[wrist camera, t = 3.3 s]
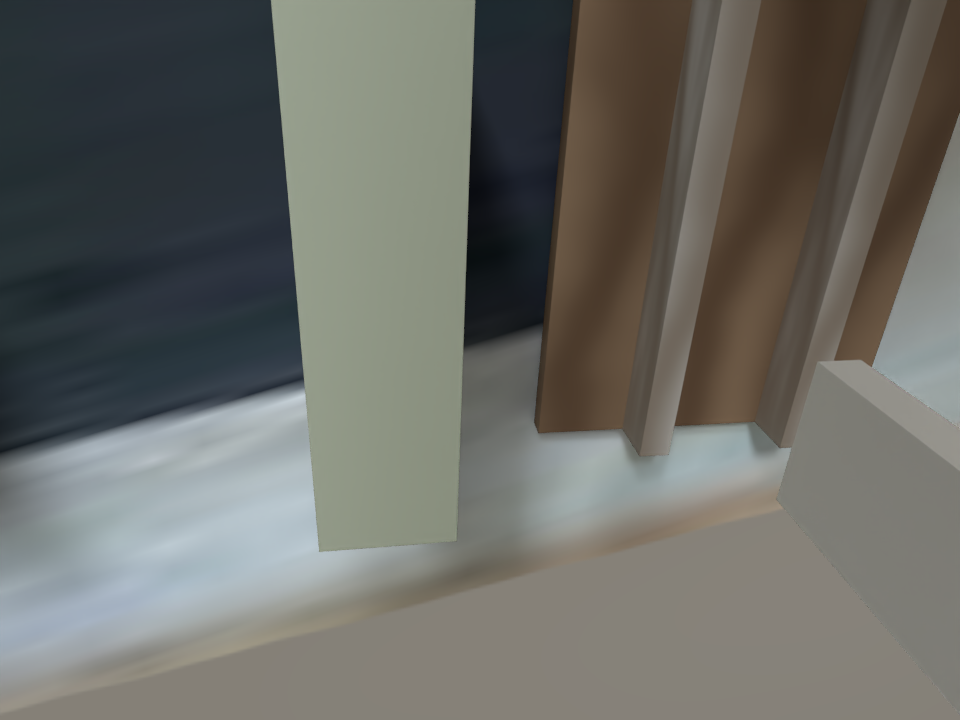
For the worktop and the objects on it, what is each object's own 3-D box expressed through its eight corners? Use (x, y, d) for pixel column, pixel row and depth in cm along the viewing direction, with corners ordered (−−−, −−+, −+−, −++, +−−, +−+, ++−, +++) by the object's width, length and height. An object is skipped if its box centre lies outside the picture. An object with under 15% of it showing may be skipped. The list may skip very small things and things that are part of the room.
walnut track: (534, 422, 36) (550, 461, 33) (592, -206, 24) (627, -238, 21) (843, 407, 38) (885, 441, 35) (1032, -161, 27) (1120, -183, 24)
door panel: (334, 341, 32) (319, 551, 20) (310, -57, 25) (260, -120, 12) (420, 339, 32) (456, 541, 20) (420, -50, 25) (478, -103, 13)
